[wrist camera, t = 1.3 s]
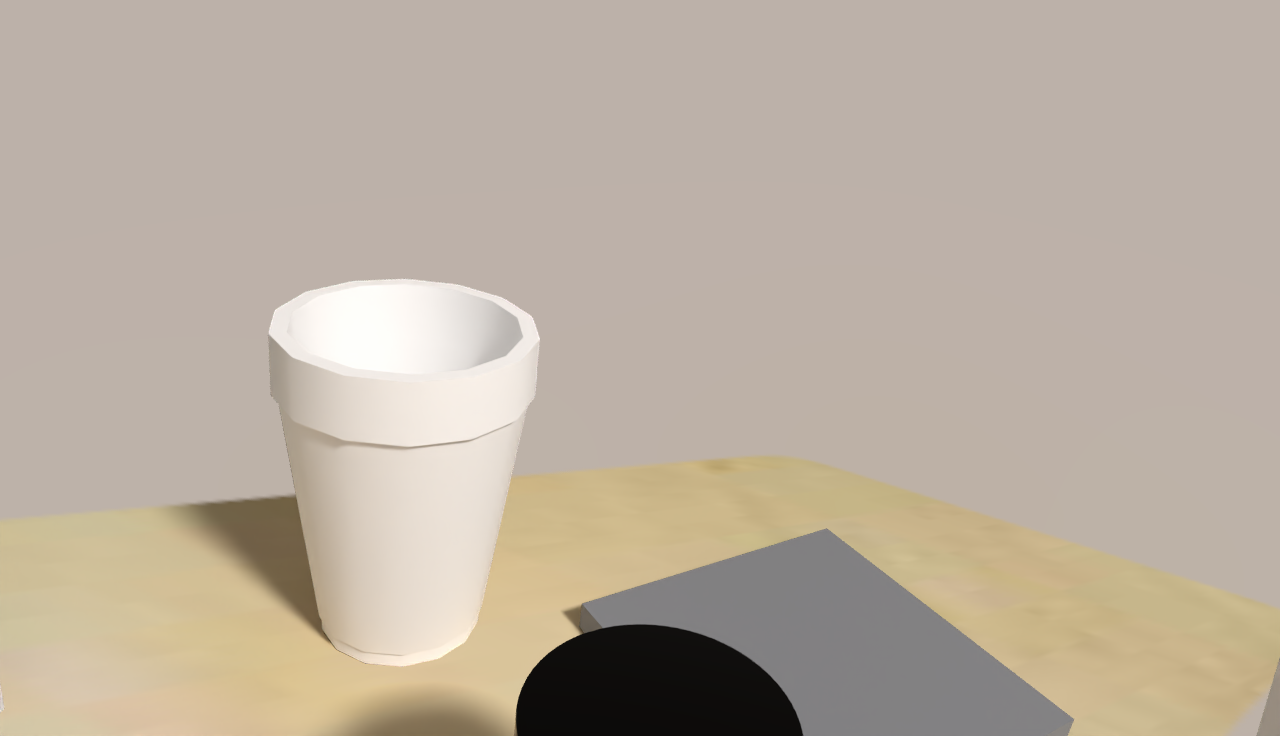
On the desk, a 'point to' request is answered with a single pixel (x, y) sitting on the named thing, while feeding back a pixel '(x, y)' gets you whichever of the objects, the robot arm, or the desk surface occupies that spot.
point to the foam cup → (401, 453)
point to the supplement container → (651, 688)
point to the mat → (841, 643)
